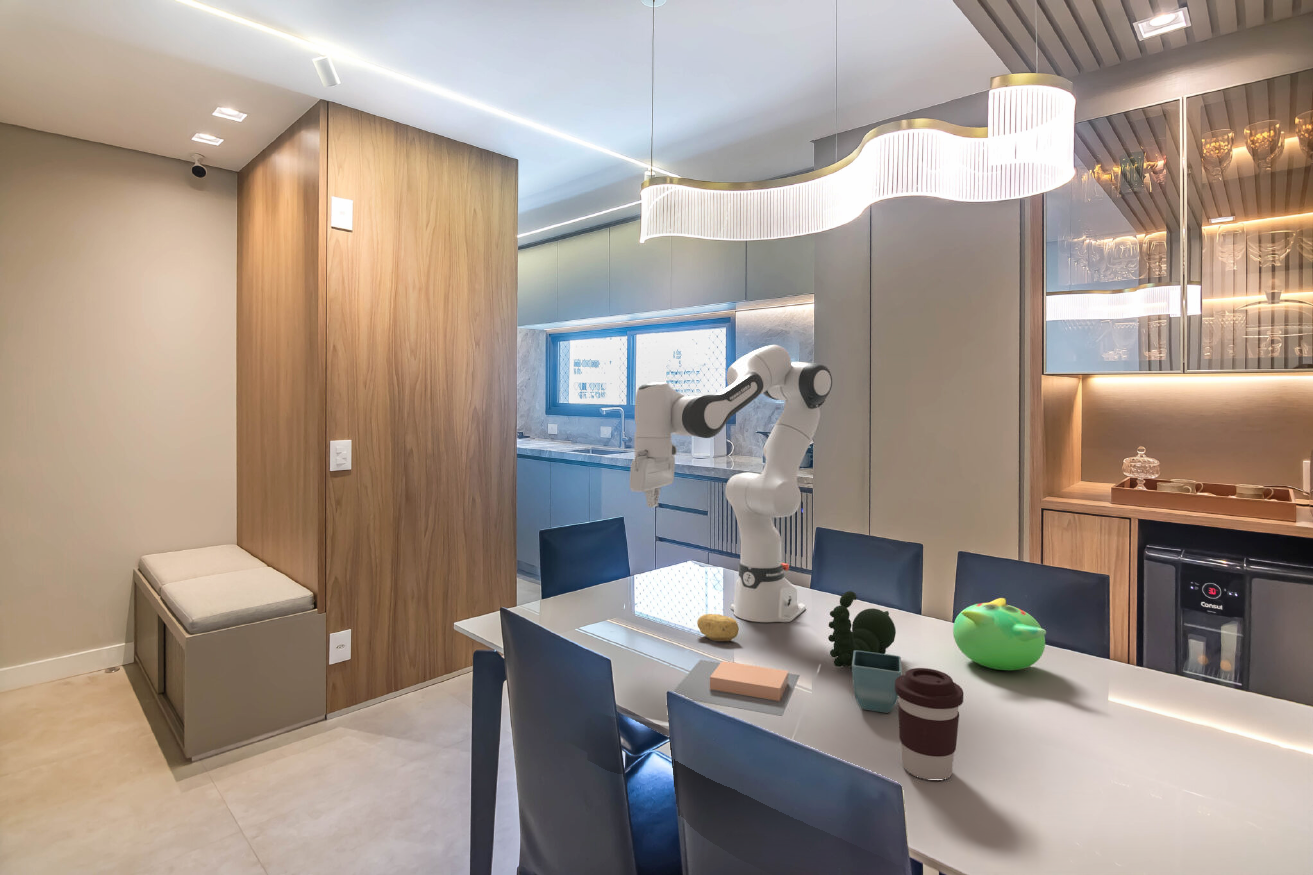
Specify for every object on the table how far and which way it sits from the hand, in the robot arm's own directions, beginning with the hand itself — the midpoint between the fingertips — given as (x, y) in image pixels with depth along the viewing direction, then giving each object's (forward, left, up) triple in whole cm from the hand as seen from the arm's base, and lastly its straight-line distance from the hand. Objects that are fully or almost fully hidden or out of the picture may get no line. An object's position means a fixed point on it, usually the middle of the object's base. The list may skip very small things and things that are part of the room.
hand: (652, 506), depth 157 cm
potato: (-12, +11, -33) cm, 37 cm away
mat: (+8, +31, -33) cm, 46 cm away
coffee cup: (+13, +70, -33) cm, 79 cm away
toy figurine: (-22, +44, -33) cm, 59 cm away
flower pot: (-3, +55, -33) cm, 64 cm away
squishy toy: (-40, +67, -33) cm, 85 cm away
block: (+10, +26, -31) cm, 42 cm away
